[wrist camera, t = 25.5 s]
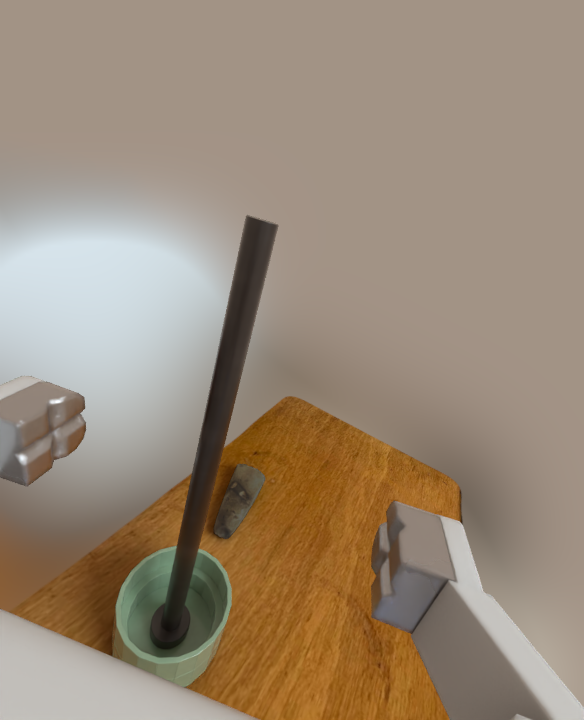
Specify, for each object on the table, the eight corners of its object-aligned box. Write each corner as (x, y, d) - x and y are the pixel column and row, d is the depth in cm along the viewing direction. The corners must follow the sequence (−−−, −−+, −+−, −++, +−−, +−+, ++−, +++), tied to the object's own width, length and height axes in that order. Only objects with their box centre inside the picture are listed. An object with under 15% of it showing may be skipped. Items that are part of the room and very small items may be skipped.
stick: (152, 656, 30) (242, 215, 16) (147, 614, 33) (221, 206, 19) (192, 640, 32) (305, 233, 18) (184, 602, 35) (277, 223, 21)
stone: (236, 469, 55) (239, 459, 54) (265, 479, 55) (268, 469, 54) (204, 537, 43) (207, 525, 42) (241, 550, 43) (245, 538, 42)
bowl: (113, 723, 27) (118, 687, 24) (109, 596, 34) (113, 560, 32) (233, 667, 32) (246, 634, 30) (206, 568, 39) (215, 536, 37)
